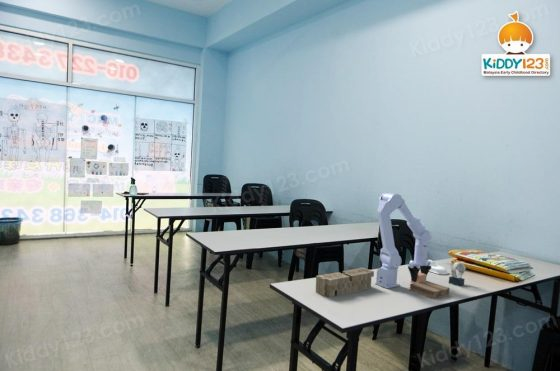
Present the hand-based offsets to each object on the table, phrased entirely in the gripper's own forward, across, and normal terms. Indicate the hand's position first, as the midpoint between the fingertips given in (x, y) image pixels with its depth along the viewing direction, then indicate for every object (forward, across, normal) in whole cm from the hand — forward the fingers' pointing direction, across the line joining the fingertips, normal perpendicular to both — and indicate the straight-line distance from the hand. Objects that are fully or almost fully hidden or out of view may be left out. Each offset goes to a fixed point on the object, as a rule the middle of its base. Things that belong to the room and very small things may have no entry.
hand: (418, 280), depth 189 cm
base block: (+1, -7, -11) cm, 13 cm away
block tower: (+2, -41, +9) cm, 42 cm away
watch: (+2, +18, -9) cm, 20 cm away
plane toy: (+2, +28, +13) cm, 31 cm away
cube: (+2, 0, 0) cm, 2 cm away
